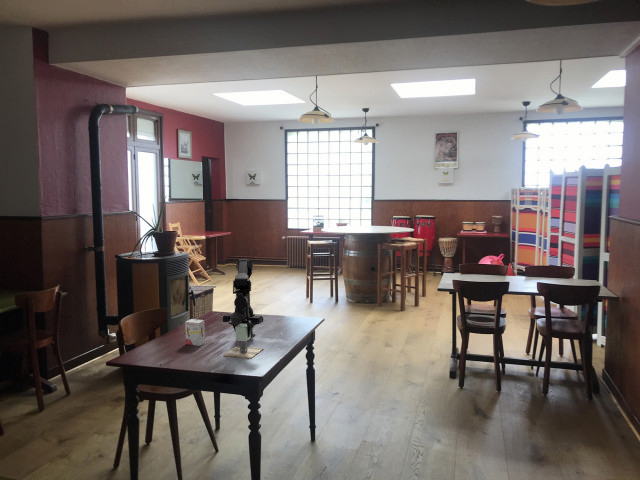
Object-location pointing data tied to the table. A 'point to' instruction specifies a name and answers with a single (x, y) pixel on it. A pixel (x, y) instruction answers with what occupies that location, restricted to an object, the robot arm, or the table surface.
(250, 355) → the post board
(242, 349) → the post
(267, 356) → the table surface
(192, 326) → the ink box
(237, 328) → the mint green box
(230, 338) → the table surface
